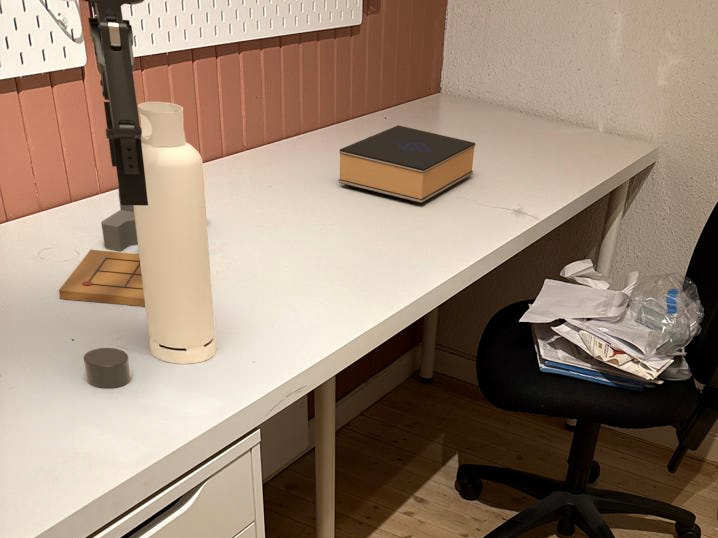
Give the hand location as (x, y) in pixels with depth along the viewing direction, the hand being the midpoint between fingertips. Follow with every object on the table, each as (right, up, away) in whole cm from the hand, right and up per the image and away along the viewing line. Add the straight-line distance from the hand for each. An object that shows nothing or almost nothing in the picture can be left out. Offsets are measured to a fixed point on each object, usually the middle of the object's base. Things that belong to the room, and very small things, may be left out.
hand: (129, 184), depth 106 cm
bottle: (+1, -13, +17) cm, 22 cm away
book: (+25, +40, +82) cm, 95 cm away
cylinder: (-6, -19, +9) cm, 22 cm away
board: (-11, +1, +31) cm, 33 cm away
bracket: (-12, +14, +46) cm, 50 cm away
